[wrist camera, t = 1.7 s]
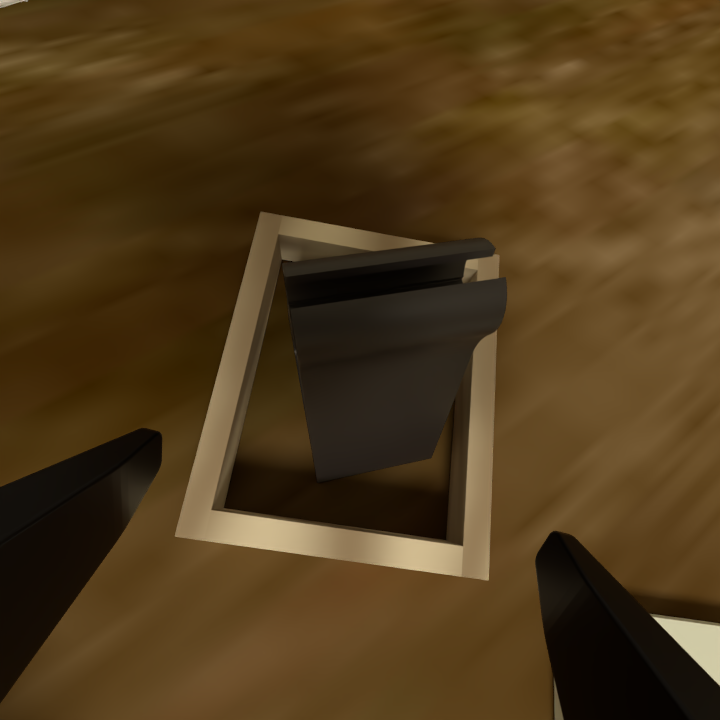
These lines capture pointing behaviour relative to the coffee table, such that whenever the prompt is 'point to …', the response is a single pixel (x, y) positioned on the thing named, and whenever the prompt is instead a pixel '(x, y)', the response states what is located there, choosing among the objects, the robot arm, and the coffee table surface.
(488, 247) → the phone stand
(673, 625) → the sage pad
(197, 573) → the coffee table surface
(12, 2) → the black-topped pedestal
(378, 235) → the birch pocket
